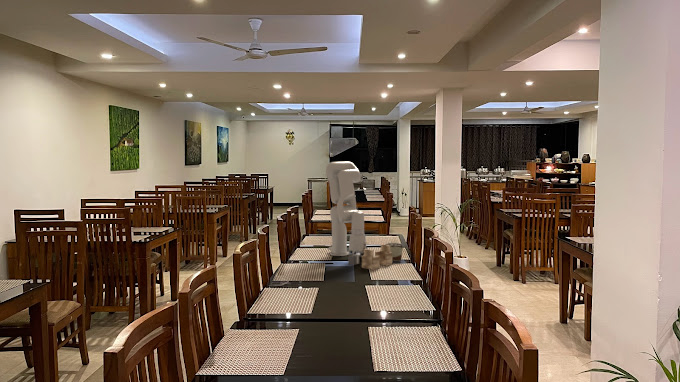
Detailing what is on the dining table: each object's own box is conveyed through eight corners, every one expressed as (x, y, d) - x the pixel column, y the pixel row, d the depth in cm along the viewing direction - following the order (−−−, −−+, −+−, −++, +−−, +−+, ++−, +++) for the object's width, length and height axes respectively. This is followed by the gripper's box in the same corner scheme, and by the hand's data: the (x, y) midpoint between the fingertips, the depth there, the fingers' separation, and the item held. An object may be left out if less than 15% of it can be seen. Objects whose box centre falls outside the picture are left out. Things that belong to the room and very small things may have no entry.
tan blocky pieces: (361, 267, 290) (361, 248, 289) (380, 261, 305) (380, 243, 304) (374, 269, 285) (373, 250, 284) (392, 263, 300) (392, 245, 299)
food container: (403, 258, 313) (403, 242, 312) (403, 261, 307) (403, 244, 306) (383, 258, 314) (383, 242, 313) (383, 260, 308) (383, 244, 307)
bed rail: (348, 264, 300) (348, 255, 299) (362, 260, 310) (362, 252, 310) (353, 265, 297) (353, 256, 297) (367, 260, 308) (367, 252, 308)
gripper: (343, 231, 305) (343, 261, 306) (365, 234, 294) (365, 265, 296) (350, 230, 310) (350, 259, 312) (372, 232, 300) (373, 263, 301)
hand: (358, 261), depth 304 cm, fingers closed on bed rail, 4 cm apart
